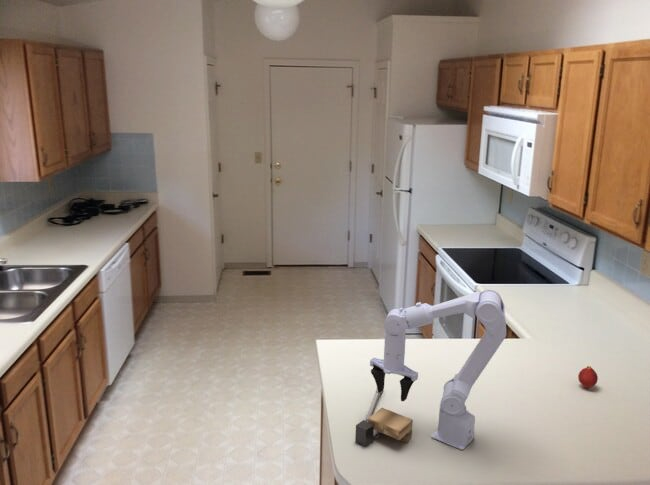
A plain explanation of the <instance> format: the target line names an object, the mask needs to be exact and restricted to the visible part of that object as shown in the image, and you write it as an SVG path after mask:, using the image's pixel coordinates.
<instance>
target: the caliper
mask: <svg viewBox="0 0 650 485" xmlns="http://www.w3.org/2000/svg"><path fill="white" fill-rule="evenodd" d="M383 393H384V390H383V391H382V392H380V393H379V392H378V389H377V388H376V390H375V392H374V396H373V398H372V401H371V404H370V407H369V409H368V412H367V415H366V417H365V421H367V422H368V418H369V417H370V416H372V415H373V414H374V411H375V407H376V405H377V402H378V399H379V398H380V396H382V395H383Z"/></svg>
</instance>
